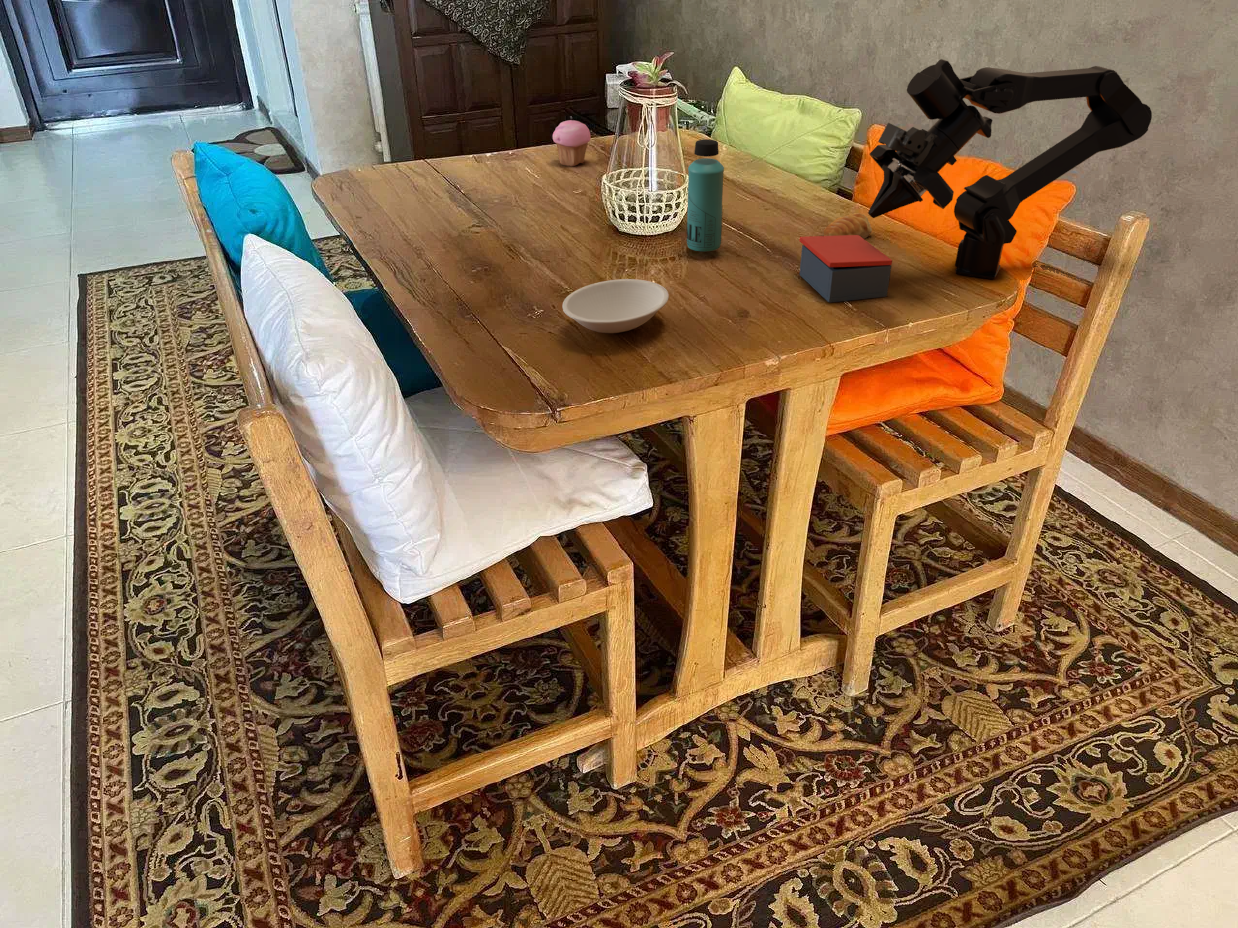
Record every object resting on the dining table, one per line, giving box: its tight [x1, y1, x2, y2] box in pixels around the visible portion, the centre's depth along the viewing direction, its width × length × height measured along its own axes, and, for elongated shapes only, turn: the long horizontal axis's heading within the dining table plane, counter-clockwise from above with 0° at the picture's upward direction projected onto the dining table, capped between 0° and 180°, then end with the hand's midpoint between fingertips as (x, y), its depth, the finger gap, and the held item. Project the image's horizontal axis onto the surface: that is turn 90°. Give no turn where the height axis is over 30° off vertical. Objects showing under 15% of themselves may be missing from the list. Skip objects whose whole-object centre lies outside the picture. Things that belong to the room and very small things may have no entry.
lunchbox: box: [798, 244, 892, 303], centre depth 152 cm, size 10×13×5 cm
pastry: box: [823, 212, 873, 239], centre depth 172 cm, size 9×7×4 cm
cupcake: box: [552, 119, 592, 167], centre depth 217 cm, size 9×9×10 cm
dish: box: [562, 278, 670, 334], centre depth 139 cm, size 18×14×5 cm
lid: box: [798, 235, 893, 267], centre depth 150 cm, size 11×13×1 cm
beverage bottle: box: [685, 138, 725, 252], centre depth 161 cm, size 6×7×20 cm
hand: (870, 215), depth 148 cm, fingers closed
